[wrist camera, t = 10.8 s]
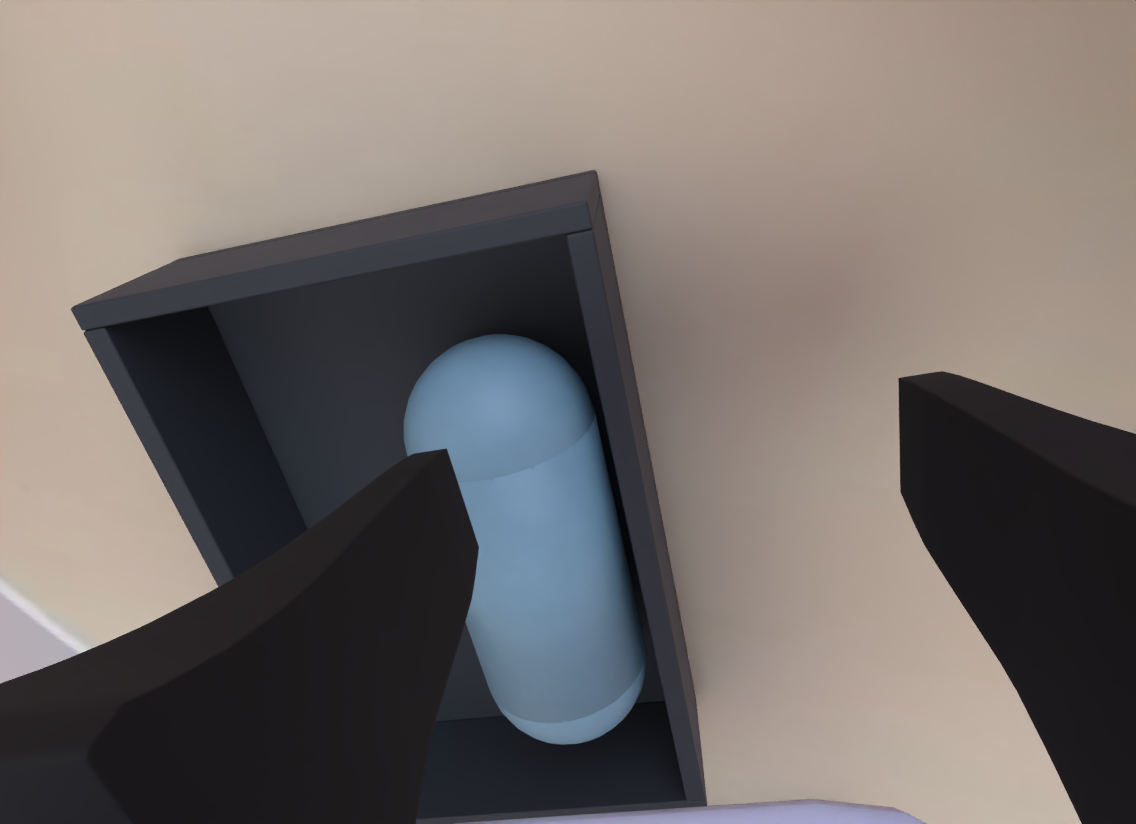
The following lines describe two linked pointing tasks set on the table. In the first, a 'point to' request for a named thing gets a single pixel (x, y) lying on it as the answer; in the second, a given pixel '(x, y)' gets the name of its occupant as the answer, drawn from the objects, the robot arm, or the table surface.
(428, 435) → the capsule
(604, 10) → the table surface
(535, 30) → the table surface
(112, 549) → the table surface
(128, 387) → the bin
